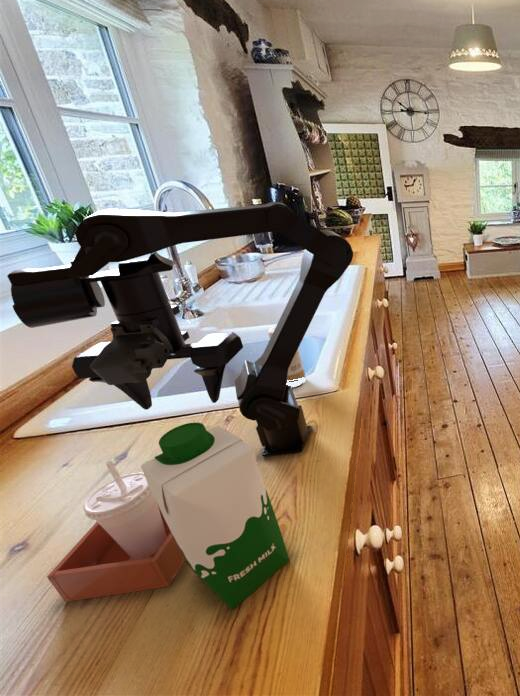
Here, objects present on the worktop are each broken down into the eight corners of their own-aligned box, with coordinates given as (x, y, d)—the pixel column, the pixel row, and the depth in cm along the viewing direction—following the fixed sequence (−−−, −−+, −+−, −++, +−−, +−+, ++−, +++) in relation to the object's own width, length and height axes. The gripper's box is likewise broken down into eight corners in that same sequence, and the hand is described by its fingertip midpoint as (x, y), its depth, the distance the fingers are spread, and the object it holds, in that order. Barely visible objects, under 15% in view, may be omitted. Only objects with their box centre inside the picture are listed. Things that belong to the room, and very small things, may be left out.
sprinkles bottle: (303, 375, 92) (289, 321, 87) (309, 383, 89) (294, 328, 84) (281, 383, 90) (265, 327, 84) (287, 392, 86) (270, 334, 81)
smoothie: (170, 559, 51) (124, 474, 46) (107, 578, 49) (50, 492, 44) (186, 519, 57) (146, 439, 51) (130, 535, 55) (82, 453, 49)
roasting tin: (217, 509, 59) (206, 485, 57) (169, 586, 49) (155, 560, 47) (131, 520, 58) (118, 497, 56) (65, 602, 47) (46, 576, 46)
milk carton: (262, 527, 56) (215, 405, 48) (301, 558, 51) (257, 430, 43) (189, 582, 49) (121, 451, 41) (228, 624, 45) (160, 486, 37)
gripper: (4, 339, 46) (66, 449, 52) (183, 325, 48) (223, 432, 54) (83, 304, 56) (128, 399, 62) (228, 294, 58) (258, 386, 65)
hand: (182, 404), depth 61 cm, fingers open, 9 cm apart
